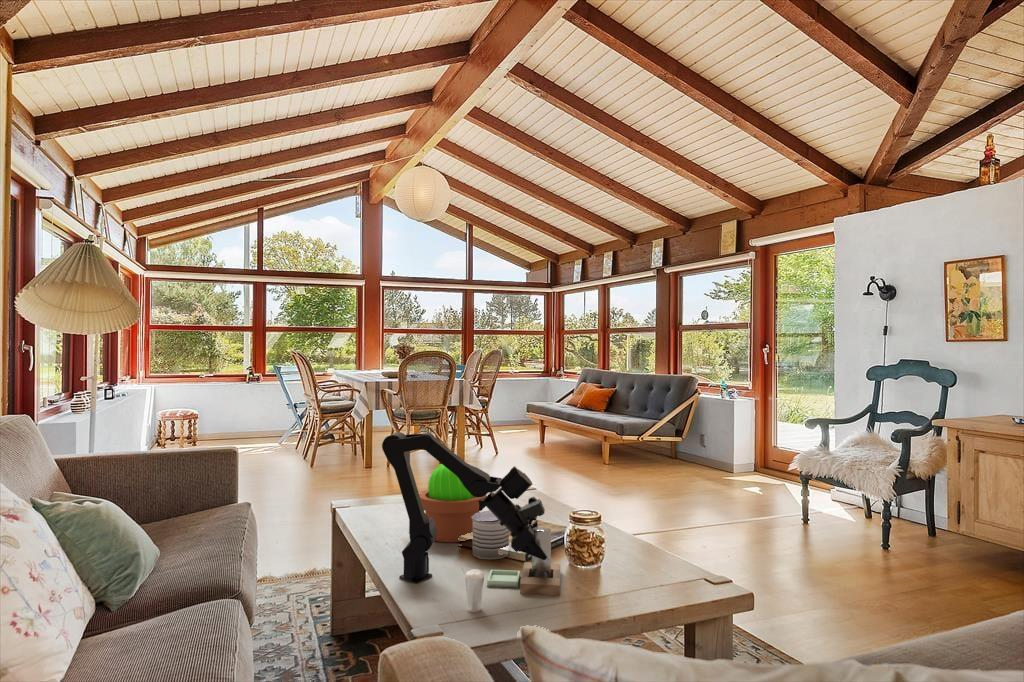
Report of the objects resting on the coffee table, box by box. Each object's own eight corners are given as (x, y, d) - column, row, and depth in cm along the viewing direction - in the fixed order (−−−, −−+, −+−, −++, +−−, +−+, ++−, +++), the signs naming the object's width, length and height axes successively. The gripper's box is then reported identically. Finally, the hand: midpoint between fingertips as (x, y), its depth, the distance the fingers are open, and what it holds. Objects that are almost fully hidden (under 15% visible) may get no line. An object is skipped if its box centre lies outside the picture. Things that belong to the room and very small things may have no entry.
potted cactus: (405, 540, 202) (406, 462, 203) (438, 522, 223) (439, 451, 223) (467, 549, 194) (468, 467, 194) (496, 530, 214) (496, 456, 215)
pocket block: (519, 593, 160) (520, 583, 160) (524, 571, 176) (524, 562, 176) (559, 595, 159) (559, 585, 159) (560, 572, 175) (560, 563, 175)
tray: (487, 586, 164) (487, 580, 164) (490, 575, 172) (490, 569, 172) (517, 587, 164) (517, 581, 164) (520, 576, 172) (520, 570, 172)
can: (504, 561, 184) (505, 519, 184) (467, 558, 186) (467, 517, 186) (512, 548, 195) (513, 509, 195) (477, 546, 197) (477, 507, 197)
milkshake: (461, 605, 152) (461, 564, 152) (483, 605, 152) (483, 563, 152) (461, 613, 147) (461, 570, 148) (484, 613, 148) (484, 570, 148)
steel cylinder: (544, 587, 164) (544, 533, 164) (527, 583, 167) (528, 530, 167) (554, 581, 168) (554, 529, 168) (538, 577, 171) (538, 525, 171)
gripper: (524, 498, 159) (568, 544, 157) (529, 482, 177) (568, 523, 176) (493, 528, 159) (536, 574, 158) (500, 509, 178) (539, 550, 177)
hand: (546, 553), depth 167 cm, fingers open, 7 cm apart
